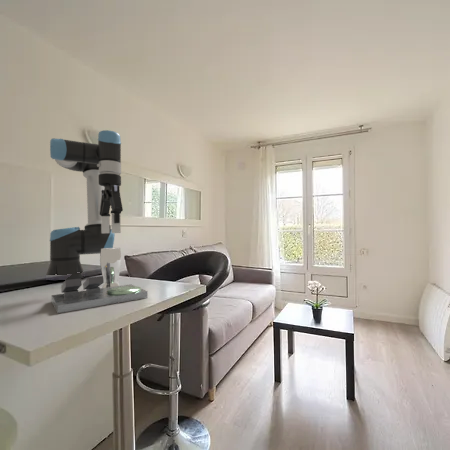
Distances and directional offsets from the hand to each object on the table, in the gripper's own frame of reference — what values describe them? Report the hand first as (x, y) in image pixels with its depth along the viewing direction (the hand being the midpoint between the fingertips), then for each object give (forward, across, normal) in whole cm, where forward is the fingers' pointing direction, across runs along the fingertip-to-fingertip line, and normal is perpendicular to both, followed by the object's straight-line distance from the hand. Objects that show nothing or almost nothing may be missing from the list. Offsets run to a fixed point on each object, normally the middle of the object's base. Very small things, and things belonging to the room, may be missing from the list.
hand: (110, 233), depth 96 cm
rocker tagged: (+15, +10, -14) cm, 23 cm away
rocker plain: (+15, +10, -8) cm, 20 cm away
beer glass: (+21, 0, 0) cm, 21 cm away
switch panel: (+20, +12, -6) cm, 25 cm away
